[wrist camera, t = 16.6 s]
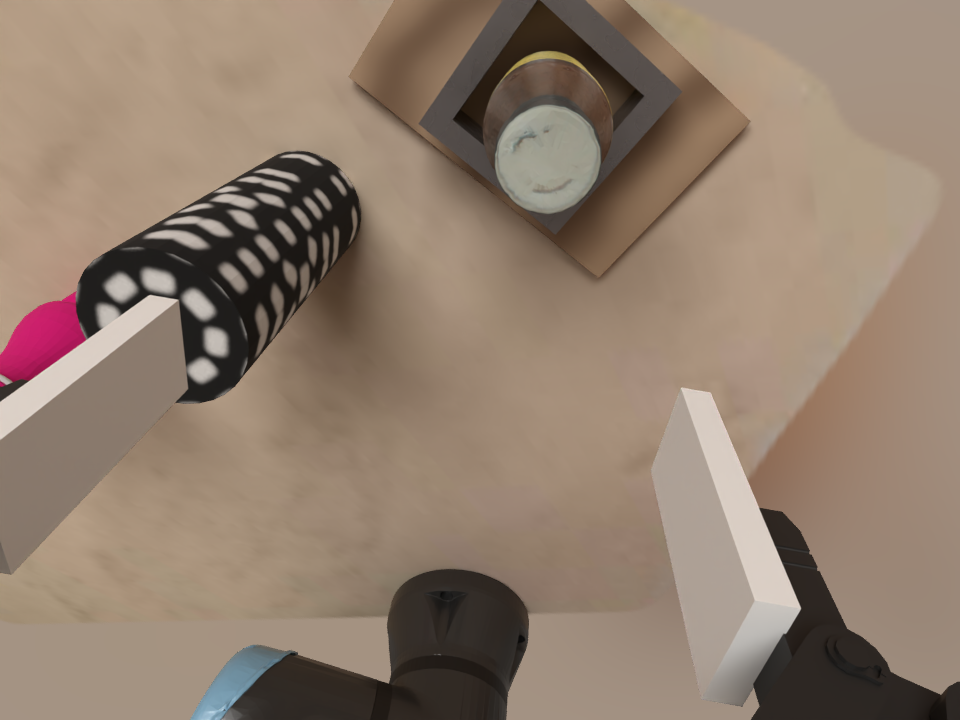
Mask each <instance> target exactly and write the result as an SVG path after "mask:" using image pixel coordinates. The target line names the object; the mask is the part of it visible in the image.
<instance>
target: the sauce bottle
mask: <svg viewBox="0 0 960 720" xmlns="http://www.w3.org/2000/svg"><path fill="white" fill-rule="evenodd" d="M612 134H613V118H612V111H611V107H610V104H609V101H608V99H607V97H606V95H605V93H604V91H603V89H602V87H601V86H600V84H599V83H598V81H597V80H596V79H595V78H594V77H593V76H592V75H591V74H590V73H589V72H588V71H587V69H586V68H585V67H584V66H583V65H582V64H581V63H580V62H579V61H577V60H576V59H574V58H573V57H571V56H569V55H567V54H564V53H561V52H557V51H541V52H536V53H533V54H531V55H528V56H526V57H524V58H523V59H521V60H520V61H519V62H517V63H516V64H515V65H514V66H513V67H512V68H511V69H510V70H509V71H508V72H507V74H506V75H505V76H504V77H503V79H502V80H501V81H500V83H499V84H498V85H497V87H496V88H495V90H494V92H493V94H492V96H491V98H490V100H489V103H488V106H487V109H486V113H485V117H484V122H483V139H484V145H485V151H486V154H487V158H488V159H489V162H490V164H491V166H492V168H493V169H494V170H495V172H496V176H497V179H498V181H499V184H500V186H501V188H502V190H503V191H504V193H506V194H507V196H508V197H509V198H510V199H511V200H512V201H513V202H514V203H515V204H516V205H518V206H520V207H522V208H524V209H525V210H527V211H531V212H534V213H542V214H553V213H557V212H563V211H565V210H567V209H569V208H571V207H573V206H575V205H576V204H578V203H579V202H581V201H582V200H583V199H584V198H585V197H586V196H587V195H588V194H589V192H590V191H591V189H592V188H593V186H594V185H595V183H596V181H597V179H598V177H599V173H600V169H601V164H602V163H603V162H604V160H605V158H606V156H607V154H608V151H609V149H610V145H611V141H612Z"/></svg>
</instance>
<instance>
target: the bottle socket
mask: <svg viewBox="0 0 960 720" xmlns="http://www.w3.org/2000/svg"><path fill="white" fill-rule="evenodd" d="M540 1H542V2H543V3H544V4H545V5H546V6H547V7H548V8H549V9H550V10H551V11H552V12H553V13H555V14H556V15H557V16H558V17H559V18H560V19H561V20H562V21H563V22H564V23H565V24H567V25H568V26H569V27H570V28H571V29H572V30H573V31H574V32H575V33H576V34H577V35H578V36H580V37H581V38H582V39H583V40H584V41H585V42H586V43H587V44H588V45H589V46H590V47H592V48H593V49H594V50H595V51H596V52H597V53H598V54H599V55H600V56H601V57H602V58H603V59H605V60H606V61H607V62H608V63H609V64H610V65H611V66H612V67H613V68H614V69H615V70H617V71H618V72H619V73H620V74H621V75H622V76H623V77H624V78H625V79H626V80H627V81H628V82H630V83H631V84H632V85H633V86H634V87H635V88H636V89H635V90H634V91H633V92H632V94H631V95H630V96H629V97H628V98H627V100H626V101H625V102H624V103H623V104H622V105H621V107H620V108H619V109H618V110H617V111H616V113H615V114H614V115H613V116H612V118H613V134H612V141H611V145H610V149H609V151H608V154H607V156H606V158H605V160H604V162H603V163H602V164H601V169H600V173H599V177H598V179H597V181H596V183H595V185H594V186H593V188H592V189H591V191H590V192H589V194H588V195H587V196H586V197H585V198H584V199H583V200H582V201H581V202H579V203H578V204H576V205H575V206H573V207H571V208H569V209H567V210H565V211H563V212H557V213H553V214H542V213H534V212H531V211H527V210H525V209H524V208H523V209H524V210H525V211H527V212H528V213H529V214H530V215H532V216H533V217H534V218H535V219H536V220H538V221H539V222H540V223H541V224H543V225H544V226H545V227H546V228H548V229H549V230H550V231H551V232H552V233H554V234H555V235H556V234H557V232H558V231H559V230H560V229H561V228H562V227H563V226H564V225H565V223H566V222H567V221H568V220H569V219H570V218H571V217H572V216H573V214H574V213H575V212H576V211H577V210H578V209H579V208H580V207H581V205H582V204H583V203H584V202H585V201H586V200H587V199H588V198H589V196H590V195H591V194H592V193H593V192H594V191H595V190H596V189H597V187H598V186H599V185H600V184H601V183H602V182H603V181H604V180H605V178H606V177H607V176H608V175H609V174H610V173H611V172H612V171H613V169H614V168H615V167H616V166H617V165H618V164H619V163H620V162H621V160H622V159H623V158H624V157H625V156H626V155H627V154H628V153H629V151H630V150H631V149H632V148H633V147H634V146H635V145H636V144H637V142H638V141H639V140H640V139H641V138H642V137H643V136H644V135H645V133H646V132H647V131H648V130H649V129H650V128H651V127H652V126H653V124H654V123H655V122H656V121H657V120H658V119H659V118H660V117H661V115H662V114H663V113H664V112H665V111H666V110H667V109H668V108H669V106H670V105H671V104H672V103H673V102H674V101H675V100H676V98H677V97H678V96H679V95H680V94H681V93H682V91H681V90H680V89H679V88H678V87H677V86H676V85H675V84H674V83H673V82H672V81H671V80H670V79H669V78H668V77H666V76H665V75H664V74H663V73H662V72H661V71H660V70H659V69H658V68H657V67H656V66H655V65H654V64H653V63H652V62H651V61H649V60H648V59H647V58H646V57H645V56H644V55H643V54H642V53H641V52H640V51H639V50H638V49H637V48H636V47H635V46H634V45H632V44H631V43H630V42H629V41H628V40H627V39H626V38H625V37H624V36H623V35H622V34H621V33H620V32H619V31H618V30H617V29H616V28H614V27H613V26H612V25H611V24H610V23H609V22H608V21H607V20H606V19H605V18H604V17H603V16H602V15H601V14H600V13H599V12H597V11H596V10H595V9H594V8H593V7H592V6H591V5H590V4H589V3H588V2H587V1H586V0H540ZM537 2H538V0H502V2H501V3H500V5H499V6H498V8H497V9H496V11H495V12H494V14H493V15H492V17H491V18H490V19H489V21H488V22H487V24H486V25H485V27H484V28H483V30H482V31H481V33H480V34H479V36H478V37H477V38H476V40H475V41H474V43H473V44H472V46H471V47H470V49H469V50H468V52H467V53H466V55H465V56H464V58H463V59H462V60H461V62H460V63H459V65H458V66H457V68H456V69H455V71H454V72H453V74H452V75H451V77H450V78H449V80H448V81H447V82H446V84H445V85H444V87H443V88H442V90H441V91H440V93H439V94H438V96H437V97H436V99H435V100H434V102H433V103H432V104H431V106H430V107H429V109H428V110H427V112H426V113H425V115H424V116H423V118H422V119H421V121H420V122H419V123H418V124H419V125H420V126H422V127H423V128H424V129H425V130H427V131H428V132H429V133H430V134H432V135H433V136H434V137H435V138H437V139H438V140H439V141H440V142H441V143H443V144H444V145H445V146H446V147H448V148H449V149H450V150H451V151H453V152H454V153H455V154H456V155H457V156H459V157H460V158H461V159H462V160H464V161H465V162H466V163H467V164H469V165H470V166H471V167H472V168H474V169H475V170H476V171H477V172H478V173H480V174H481V175H482V176H483V177H485V178H486V179H487V180H488V181H490V182H491V183H492V184H493V185H494V186H496V187H497V188H498V189H499V190H501V191H502V192H503V193H504V191H503V190H502V188H501V186H500V184H499V181H498V179H497V176H496V172H495V170H494V169H493V168H492V166H491V164H490V162H489V159H488V158H487V154H486V151H485V145H484V139H483V127H481V126H480V125H479V124H478V123H477V122H475V121H474V120H473V119H472V118H471V117H469V116H468V115H467V114H466V113H465V112H463V111H462V110H461V108H462V107H463V106H464V104H465V103H466V101H467V100H468V99H469V97H470V96H471V94H472V93H473V92H474V90H475V89H476V87H477V86H478V85H479V83H480V82H481V80H482V79H483V78H484V76H485V75H486V73H487V72H488V70H489V69H490V68H491V66H492V65H493V63H494V62H495V61H496V59H497V58H498V56H499V55H500V54H501V52H502V51H503V49H504V48H505V47H506V45H507V44H508V42H509V41H510V40H511V38H512V37H513V35H514V34H515V32H516V31H517V30H518V28H519V27H520V25H521V24H522V23H523V21H524V20H525V18H526V17H527V16H528V14H529V13H530V11H531V10H532V9H533V7H534V6H535V4H536V3H537ZM504 194H506V193H504ZM506 195H507V194H506Z"/></svg>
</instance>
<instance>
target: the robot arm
mask: <svg viewBox="0 0 960 720" xmlns="http://www.w3.org/2000/svg"><path fill="white" fill-rule="evenodd" d="M187 389H188V383H187V373H186V364H185V355H184V345H183V336H182V327H181V317H180V308H179V300H176V299H170V298H165V297H159V296H153V295H149V296H147V297H146V298H145V299H143V300H142V301H140V302H139V303H138V304H136V305H135V306H133V307H132V308H131V309H129V310H128V311H126V312H125V313H124V314H122V315H121V316H119V317H118V318H117V319H115V320H114V321H113V322H111V323H110V324H108V325H107V326H106V327H104V328H103V329H101V330H100V331H99V332H97V333H96V334H94V335H93V336H92V337H90V338H89V339H87V340H86V341H85V342H83V343H82V344H80V345H79V346H78V347H76V348H75V349H73V350H72V351H71V352H69V353H68V354H66V355H65V356H64V357H62V358H61V359H59V360H58V361H57V362H55V363H54V364H52V365H51V366H50V367H48V368H47V369H45V370H44V371H43V372H41V373H40V374H38V375H37V376H36V377H34V378H33V379H31V380H30V381H29V380H23V379H20V380H17V381H15V382H12V383H10V384H7V385H5V386H2V387H0V573H5V574H10V575H12V574H13V573H14V571H15V570H16V569H17V568H18V567H19V566H20V565H21V564H22V563H23V562H24V561H25V560H26V559H27V558H28V557H29V556H30V555H31V554H32V553H33V551H34V550H35V549H36V548H37V547H38V546H39V545H40V544H41V543H42V542H43V541H44V540H45V539H46V538H47V537H48V536H49V535H50V534H51V533H52V531H53V530H54V529H55V528H56V527H57V526H58V525H59V524H60V523H61V522H62V521H63V520H64V519H65V518H66V517H67V516H68V515H69V514H70V513H71V512H72V510H73V509H74V508H75V507H76V506H77V505H78V504H79V503H80V502H81V501H82V500H83V499H84V498H85V497H86V496H87V495H88V494H89V493H90V492H91V490H92V489H93V488H94V487H95V486H96V485H97V484H98V483H99V482H100V481H101V480H102V479H103V478H104V477H105V476H106V475H107V474H108V473H109V472H110V470H111V469H112V468H113V467H114V466H115V465H116V464H117V463H118V462H119V461H120V460H121V459H122V458H123V457H124V456H125V455H126V454H127V453H128V452H129V450H130V449H131V448H132V447H133V446H134V445H135V444H136V443H137V442H138V441H139V440H140V439H141V438H142V437H143V436H144V435H145V434H146V433H147V432H148V431H149V429H150V428H151V427H152V426H153V425H154V424H155V423H156V422H157V421H158V420H159V419H160V418H161V417H162V416H163V415H164V414H165V413H166V412H167V411H168V409H169V408H170V407H171V406H172V405H173V404H174V403H175V402H176V401H177V400H178V399H179V398H180V397H181V396H182V395H183V394H184V393H185V392H186V391H187ZM651 473H652V478H653V482H654V487H655V492H656V496H657V501H658V505H659V510H660V514H661V519H662V523H663V528H664V532H665V537H666V542H667V546H668V551H669V555H670V560H671V564H672V569H673V573H674V578H675V582H676V587H677V591H678V596H679V601H680V605H681V610H682V614H683V618H684V623H685V628H686V632H687V637H688V642H689V646H690V650H691V655H692V660H693V664H694V668H695V673H696V678H697V682H698V687H699V692H700V696H701V699H703V700H708V701H713V702H719V703H724V704H730V705H736V706H741V707H742V706H743V704H744V702H745V701H746V699H747V698H748V696H749V694H750V692H751V691H752V689H753V688H754V689H755V692H756V696H757V699H758V702H759V706H760V707H759V708H758V710H757V711H756V713H755V714H754V716H753V717H752V719H751V720H960V682H956V683H954V684H953V685H951V686H949V687H948V688H947V689H946V690H945V691H944V692H943V694H942V695H940V694H938V693H935V692H933V691H931V690H929V689H926V688H924V687H922V686H920V685H917V684H915V683H913V682H910V681H908V680H906V679H904V678H901V677H899V676H897V675H896V674H894V673H892V672H890V669H889V667H888V664H887V662H886V661H885V660H884V658H883V657H882V656H881V654H880V653H879V652H878V651H877V649H876V648H875V647H873V646H872V645H871V644H870V643H869V642H867V641H866V640H865V639H864V638H863V637H861V636H859V635H857V634H855V633H854V632H852V631H850V630H848V629H847V627H846V625H845V623H844V621H843V619H842V617H841V615H840V613H839V611H838V609H837V607H836V605H835V602H834V600H833V598H832V596H831V594H830V592H829V590H828V588H827V586H826V584H825V582H824V580H823V578H822V575H821V573H820V572H819V571H817V565H816V563H815V561H814V559H813V557H812V555H810V554H809V551H810V550H809V548H808V546H807V544H806V542H805V540H804V538H803V536H802V534H801V532H800V530H799V529H798V528H797V527H796V526H795V525H794V524H793V523H792V522H791V521H790V520H789V519H788V518H787V516H786V515H785V514H784V513H783V512H780V511H774V510H769V509H763V508H759V507H758V505H757V502H756V500H755V497H754V495H753V493H752V491H751V488H750V486H749V483H748V481H747V478H746V476H745V474H744V471H743V469H742V467H741V464H740V462H739V459H738V457H737V455H736V452H735V450H734V447H733V445H732V443H731V440H730V438H729V436H728V433H727V431H726V428H725V426H724V424H723V421H722V419H721V417H720V414H719V412H718V409H717V407H716V405H715V402H714V400H713V397H712V395H711V393H710V392H704V391H698V390H692V389H687V388H680V391H679V394H678V397H677V399H676V402H675V405H674V408H673V411H672V413H671V416H670V419H669V422H668V424H667V427H666V430H665V433H664V435H663V438H662V441H661V444H660V446H659V449H658V452H657V455H656V457H655V460H654V463H653V466H652V468H651ZM528 628H529V619H528V614H527V611H526V608H525V606H524V604H523V603H522V601H521V600H520V599H519V597H518V596H517V595H516V594H515V593H514V592H513V591H511V590H510V589H509V588H508V587H506V586H505V585H503V584H502V583H500V582H498V581H496V580H494V579H492V578H490V577H487V576H485V575H482V574H478V573H474V572H470V571H464V570H436V571H431V572H427V573H423V574H420V575H418V576H416V577H413V578H412V579H410V580H408V581H407V582H405V583H404V584H403V585H402V586H401V587H400V588H399V589H398V590H397V592H396V593H395V595H394V598H393V600H392V604H391V608H390V612H389V615H388V622H387V629H388V636H389V651H390V663H391V678H390V682H389V684H388V683H385V682H381V681H378V680H376V679H373V678H370V677H366V676H363V675H360V674H357V673H354V672H350V671H347V670H344V669H340V668H338V667H335V666H331V665H328V664H325V663H322V662H319V661H316V660H312V659H309V658H306V657H303V656H300V655H298V653H297V652H295V651H290V650H289V651H282V650H278V649H274V648H270V647H267V646H262V645H251V646H248V647H246V648H243V649H242V650H241V651H239V652H237V653H236V654H235V655H234V656H233V657H232V658H231V659H230V660H229V661H228V662H227V663H226V665H225V666H224V667H223V669H222V670H221V671H220V673H219V674H218V675H217V677H216V678H215V680H214V681H213V683H212V684H211V686H210V687H209V689H208V690H207V692H206V693H205V695H204V697H203V698H202V700H201V701H200V703H199V705H198V707H197V708H196V710H195V712H194V714H193V716H192V717H191V719H190V720H506V714H507V697H508V691H509V689H510V687H511V684H512V682H513V679H514V677H515V675H516V672H517V670H518V667H519V665H520V663H521V660H522V658H523V655H524V653H525V651H526V647H527V643H528Z"/></svg>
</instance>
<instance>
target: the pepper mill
mask: <svg viewBox="0 0 960 720" xmlns="http://www.w3.org/2000/svg"><path fill="white" fill-rule="evenodd" d="M76 292H77V291H76ZM76 292H74V293H73V294H71V295H69V296H68V297H66V298H65V299H63V300H62V301H53V302H48V303H45V304H43V305H41V306H39V307H37V308H36V309H34V310H33V311H32V312H30V313H29V314H28V315H26V316H25V317H24V318H23V320H22V321H21V322H20V323H19V324H18V326H17V327H16V329H15V330H14V332H13V334H12V336H11V338H10V340H9V342H8V345H7V346H6V348H5V349H4V351H3V352H2V353H1V355H0V387H2V386H5V385H7V384H10V383H12V382H15V381H17V380H20V379H23V380H29V381H30V380H31V379H33V378H34V377H36V376H37V375H38V374H40V373H41V372H43V371H44V370H45V369H47V368H48V367H50V366H51V365H52V364H54V363H55V362H57V361H58V360H59V359H61V358H62V357H64V356H65V355H66V354H68V353H69V352H71V351H72V350H73V349H75V348H76V347H78V346H79V345H80V344H82V343H83V342H85V341H86V338H85V336H84V334H83V332H82V330H81V328H80V324H79V320H78V317H77V313H76Z"/></svg>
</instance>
